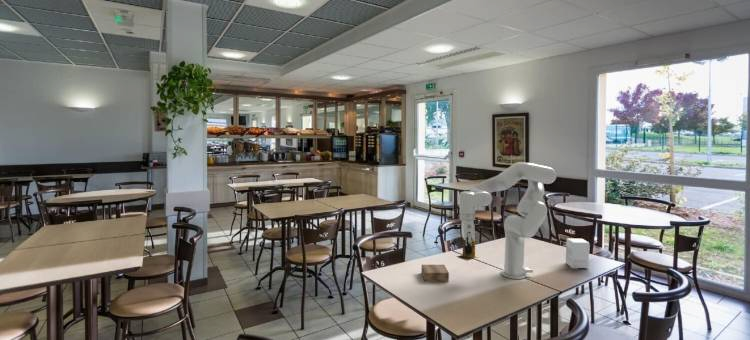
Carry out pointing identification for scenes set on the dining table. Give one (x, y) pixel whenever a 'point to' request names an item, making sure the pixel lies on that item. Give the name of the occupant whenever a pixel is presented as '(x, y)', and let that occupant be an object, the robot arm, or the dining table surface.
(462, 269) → the dining table surface
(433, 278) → the riser
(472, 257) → the condiment
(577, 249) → the supplement box
